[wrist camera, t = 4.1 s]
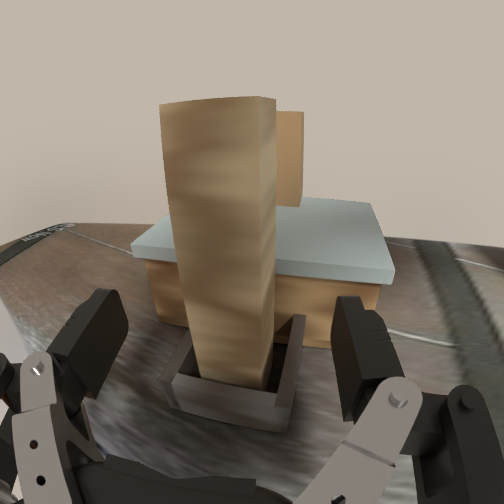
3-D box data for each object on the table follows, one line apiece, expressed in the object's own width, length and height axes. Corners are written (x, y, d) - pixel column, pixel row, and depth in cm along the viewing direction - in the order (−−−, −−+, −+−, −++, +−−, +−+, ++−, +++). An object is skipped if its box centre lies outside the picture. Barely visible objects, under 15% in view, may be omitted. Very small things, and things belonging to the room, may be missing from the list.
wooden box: (355, 272, 29) (364, 217, 26) (362, 439, 13) (399, 379, 10) (206, 257, 32) (201, 205, 29) (113, 387, 16) (79, 321, 14)
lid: (368, 213, 26) (376, 118, 22) (391, 284, 16) (417, 127, 11) (198, 201, 30) (192, 114, 25) (133, 256, 19) (112, 127, 15)
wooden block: (272, 365, 19) (276, 99, 11) (260, 407, 16) (257, 96, 8) (222, 357, 19) (199, 102, 12) (205, 396, 16) (159, 104, 9)
